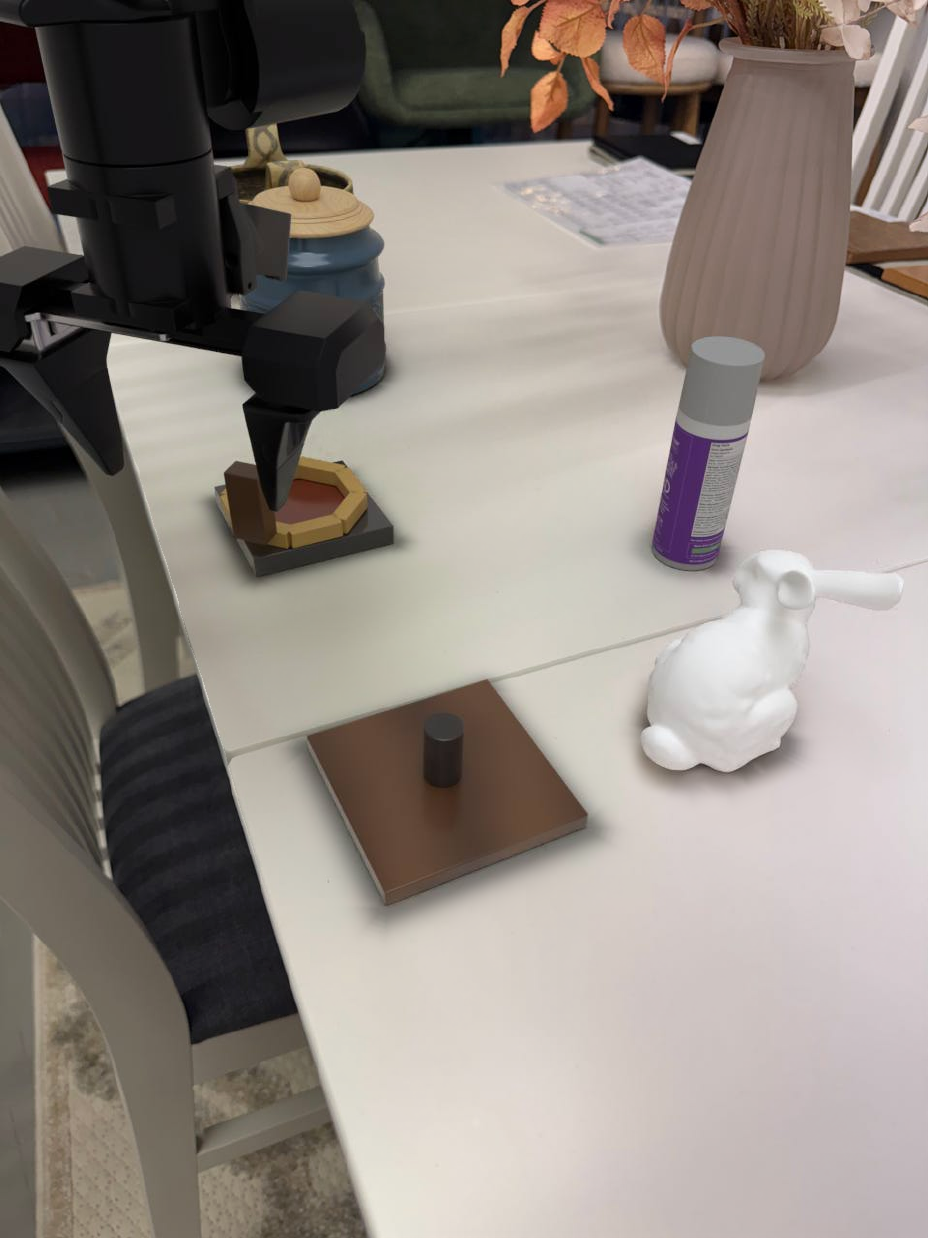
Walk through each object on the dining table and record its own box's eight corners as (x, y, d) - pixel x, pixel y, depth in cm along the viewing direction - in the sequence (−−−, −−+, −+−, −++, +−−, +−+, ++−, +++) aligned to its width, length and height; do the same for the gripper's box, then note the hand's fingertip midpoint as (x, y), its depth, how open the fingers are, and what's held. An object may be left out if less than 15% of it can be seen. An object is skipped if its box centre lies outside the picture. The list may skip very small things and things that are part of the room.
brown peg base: (385, 906, 44) (383, 845, 41) (307, 748, 52) (301, 687, 49) (586, 827, 48) (597, 766, 45) (486, 691, 56) (490, 631, 53)
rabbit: (721, 650, 59) (766, 484, 52) (859, 732, 54) (932, 560, 46) (595, 745, 53) (626, 569, 45) (738, 848, 47) (800, 669, 40)
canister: (251, 344, 93) (229, 148, 82) (384, 343, 94) (380, 149, 83) (240, 404, 83) (214, 189, 72) (389, 402, 84) (385, 191, 73)
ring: (383, 486, 70) (381, 409, 66) (318, 572, 62) (310, 490, 58) (266, 462, 72) (257, 387, 68) (188, 542, 64) (172, 461, 60)
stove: (256, 577, 63) (253, 557, 62) (216, 503, 70) (213, 485, 69) (393, 543, 67) (393, 524, 66) (343, 476, 74) (342, 458, 73)
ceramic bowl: (377, 316, 100) (373, 161, 90) (212, 329, 96) (190, 168, 86) (339, 248, 116) (332, 111, 107) (196, 256, 112) (176, 115, 103)
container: (638, 540, 68) (674, 340, 59) (693, 528, 70) (736, 331, 61) (674, 576, 65) (718, 370, 56) (731, 562, 67) (783, 360, 57)
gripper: (429, 132, 41) (426, 450, 51) (66, 90, 46) (127, 391, 56) (319, 198, 33) (340, 562, 43) (-113, 139, 37) (-3, 483, 47)
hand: (195, 489), depth 47 cm, fingers open, 9 cm apart
